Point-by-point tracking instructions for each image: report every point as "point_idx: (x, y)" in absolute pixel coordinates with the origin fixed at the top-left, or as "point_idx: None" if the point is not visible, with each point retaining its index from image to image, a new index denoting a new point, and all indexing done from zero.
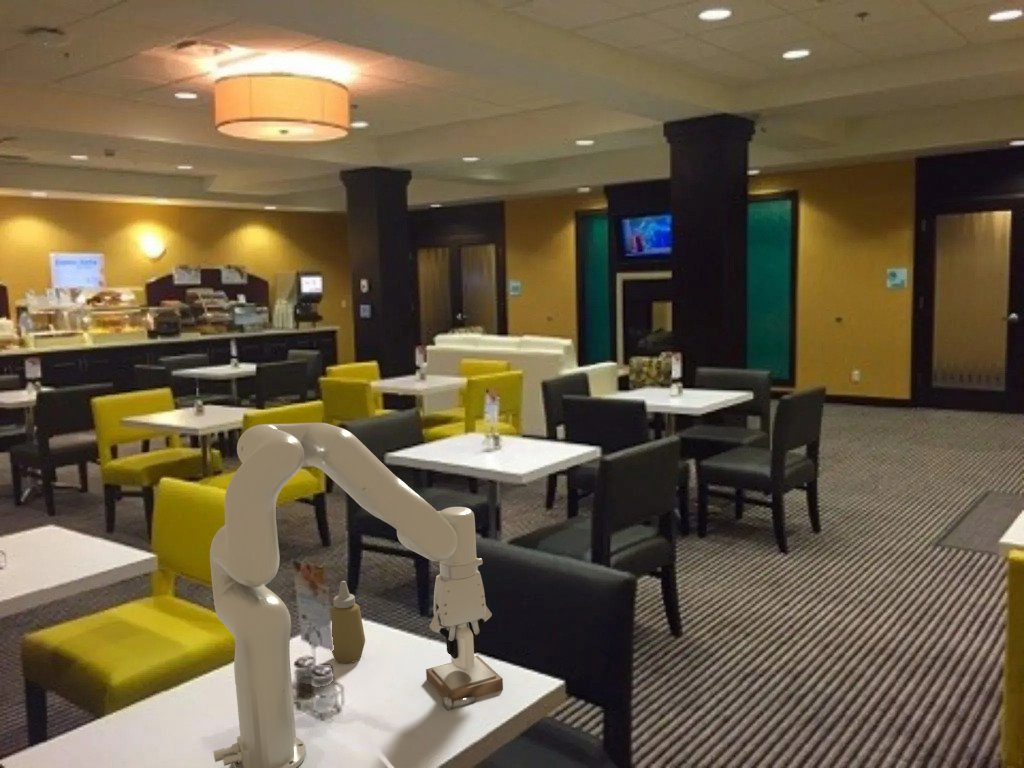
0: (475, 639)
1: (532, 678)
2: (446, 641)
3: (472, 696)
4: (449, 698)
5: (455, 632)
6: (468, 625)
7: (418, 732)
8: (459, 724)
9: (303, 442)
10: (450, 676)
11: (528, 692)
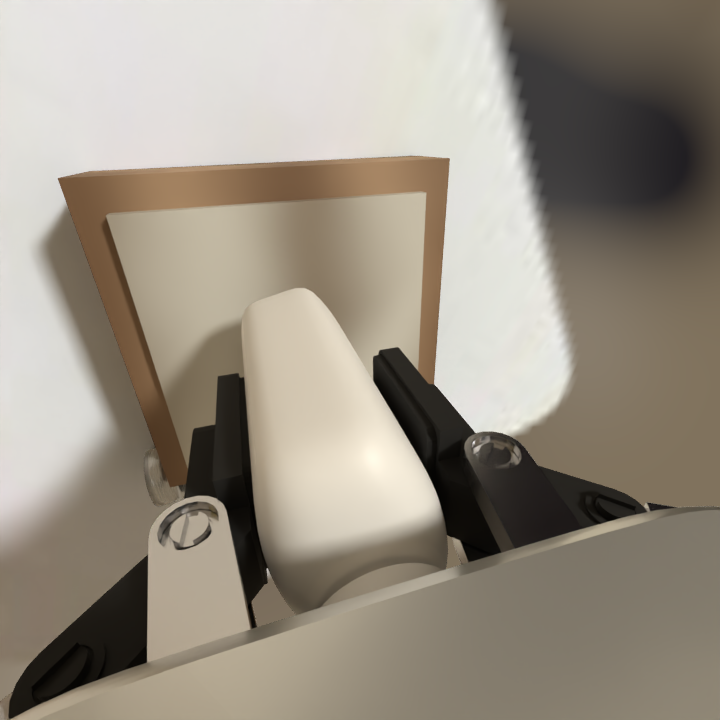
0: None
1: (537, 343)
2: (186, 487)
3: None
4: (171, 497)
5: (285, 600)
6: (477, 488)
7: (23, 556)
8: None
9: None
10: (213, 364)
11: (473, 421)
